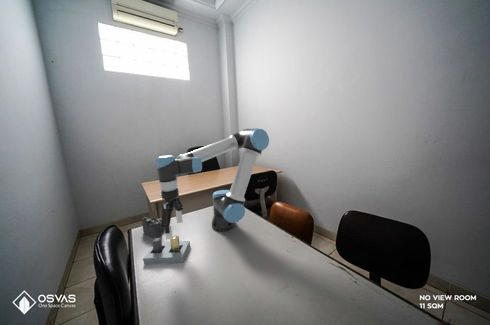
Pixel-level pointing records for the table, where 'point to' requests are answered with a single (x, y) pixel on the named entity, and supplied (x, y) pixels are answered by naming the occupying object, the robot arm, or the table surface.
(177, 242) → the brass cylinder
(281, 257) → the table surface
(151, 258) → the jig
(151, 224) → the camera
